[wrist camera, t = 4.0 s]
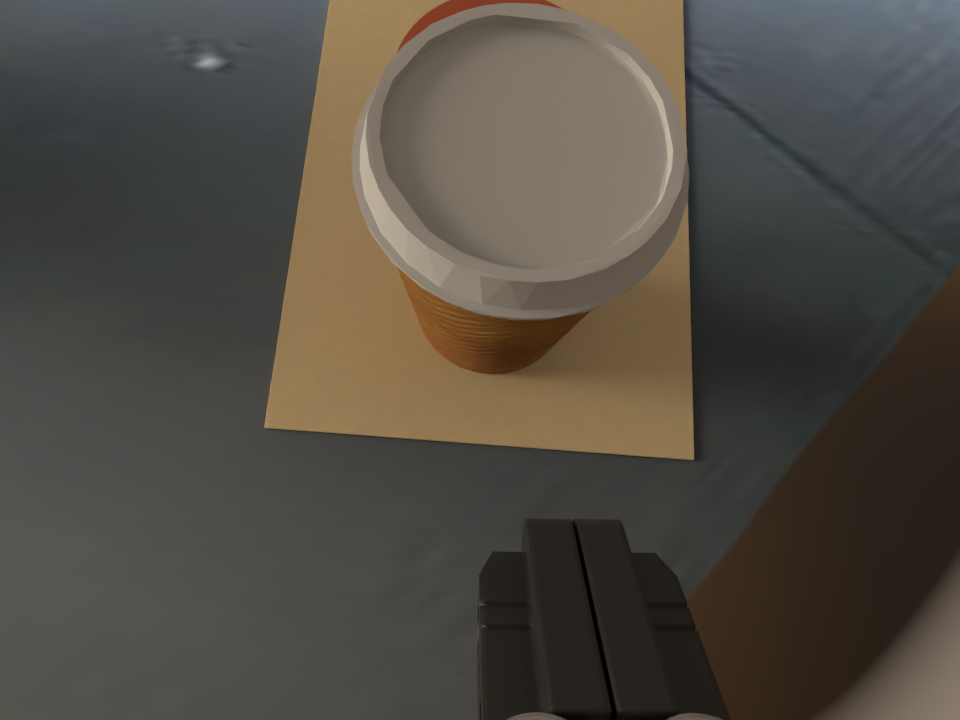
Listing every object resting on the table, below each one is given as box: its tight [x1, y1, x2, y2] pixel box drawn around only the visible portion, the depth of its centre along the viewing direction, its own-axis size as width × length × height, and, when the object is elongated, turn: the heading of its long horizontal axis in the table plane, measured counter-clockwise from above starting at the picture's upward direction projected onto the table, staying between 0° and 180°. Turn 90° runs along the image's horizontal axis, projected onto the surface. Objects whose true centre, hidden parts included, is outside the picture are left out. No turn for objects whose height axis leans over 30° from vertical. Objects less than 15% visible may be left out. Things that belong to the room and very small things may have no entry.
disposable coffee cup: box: [351, 3, 689, 374], centre depth 25 cm, size 10×10×12 cm
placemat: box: [264, 0, 694, 460], centre depth 35 cm, size 17×34×1 cm, turn 176°
